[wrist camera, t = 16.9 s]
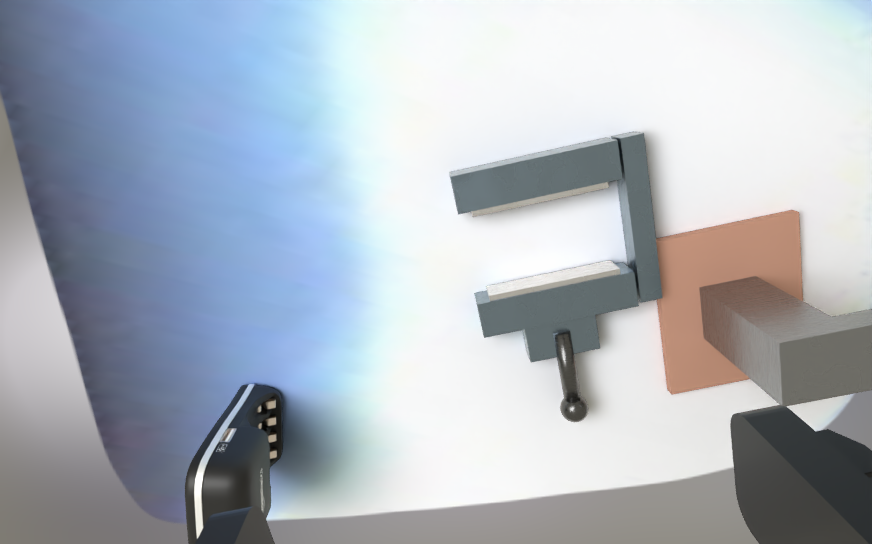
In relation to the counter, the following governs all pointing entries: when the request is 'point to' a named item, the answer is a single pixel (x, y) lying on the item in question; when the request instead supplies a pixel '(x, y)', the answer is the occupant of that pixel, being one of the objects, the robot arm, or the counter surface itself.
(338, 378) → the counter surface
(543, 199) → the vise
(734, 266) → the mat
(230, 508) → the battery charger
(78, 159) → the counter surface
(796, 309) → the gray rectangular prism
